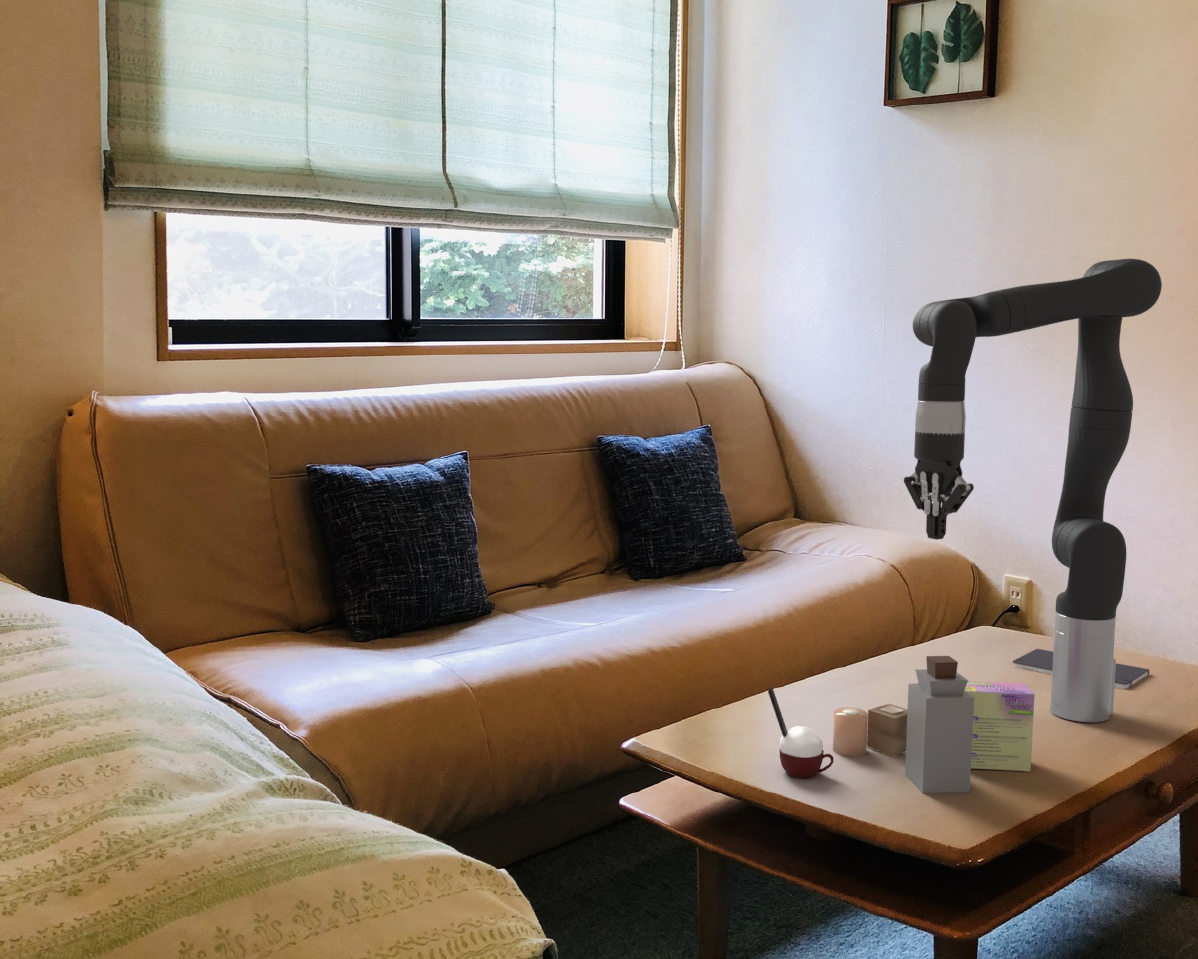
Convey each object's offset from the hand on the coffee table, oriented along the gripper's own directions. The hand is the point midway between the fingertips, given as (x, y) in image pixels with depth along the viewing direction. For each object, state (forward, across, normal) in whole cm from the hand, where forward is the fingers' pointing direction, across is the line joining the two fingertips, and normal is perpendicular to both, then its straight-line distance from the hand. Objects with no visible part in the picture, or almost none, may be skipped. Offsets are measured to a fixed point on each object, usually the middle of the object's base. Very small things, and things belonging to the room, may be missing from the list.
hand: (935, 538), depth 177 cm
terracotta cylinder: (+31, -2, +18) cm, 36 cm away
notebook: (+32, +9, -49) cm, 59 cm away
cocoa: (+31, -5, +31) cm, 44 cm away
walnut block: (+31, -4, +12) cm, 34 cm away
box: (+31, -16, +4) cm, 35 cm away
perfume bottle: (+31, -18, +16) cm, 39 cm away
